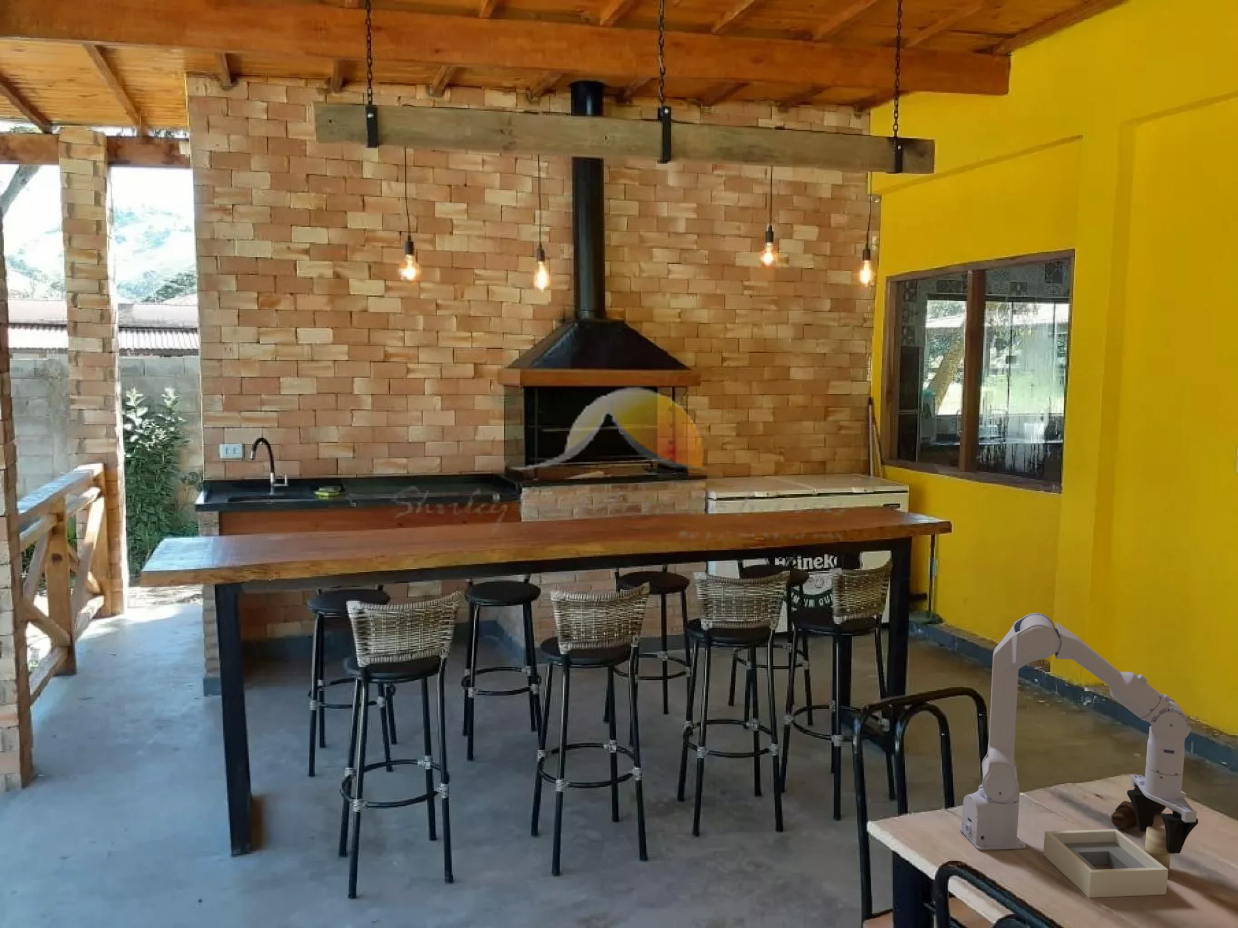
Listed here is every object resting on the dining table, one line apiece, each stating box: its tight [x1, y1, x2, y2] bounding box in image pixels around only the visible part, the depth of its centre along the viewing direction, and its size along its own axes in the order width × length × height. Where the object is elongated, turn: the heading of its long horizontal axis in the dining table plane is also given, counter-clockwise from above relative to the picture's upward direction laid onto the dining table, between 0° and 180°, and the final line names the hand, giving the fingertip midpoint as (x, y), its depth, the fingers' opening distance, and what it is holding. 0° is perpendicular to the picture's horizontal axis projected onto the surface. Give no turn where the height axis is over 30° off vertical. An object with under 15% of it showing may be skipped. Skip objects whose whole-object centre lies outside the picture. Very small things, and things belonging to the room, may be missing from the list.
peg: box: [1144, 825, 1172, 874], centre depth 165 cm, size 4×4×7 cm
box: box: [1042, 828, 1169, 899], centre depth 163 cm, size 14×14×4 cm
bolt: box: [1110, 800, 1167, 829], centre depth 184 cm, size 6×5×15 cm
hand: (1158, 841), depth 165 cm, fingers open, 7 cm apart
